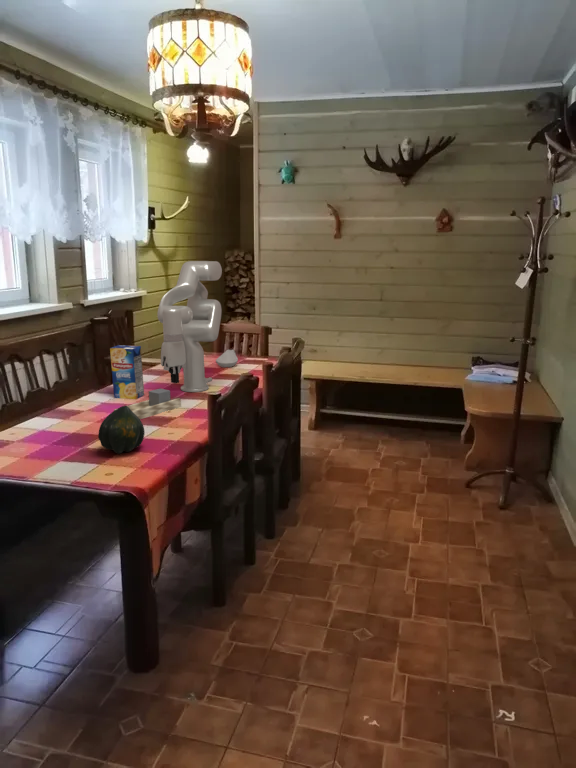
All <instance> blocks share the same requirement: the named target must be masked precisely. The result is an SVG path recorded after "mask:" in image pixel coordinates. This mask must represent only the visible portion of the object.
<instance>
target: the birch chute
mask: <svg viewBox="0 0 576 768" xmlns="http://www.w3.org/2000/svg"><path fill="white" fill-rule="evenodd" d="M126 406H127V407H129V408H130V410H131V411H132V412H133V413H134V414H135V415H136V416H137V417H138V418H139V419H140V420H143V419H145V418H150V417H152V416H155V415H159V414H162V412H163V413H165V411H166V412H169V411H172V410H175V408H176V409H179V408H181V407H182V400H181V398H180V397H178V398H175V399H171V400H170V401H167V402H164V403H160V404H157V405H153V406H150V405H149V399H147V400H144V401H139V402H135V403H133V404H130V405H126ZM178 407H179V408H178ZM116 409H117V408H115V409H113V411H115V410H116ZM171 409H172V410H171ZM168 410H169V411H168Z"/></svg>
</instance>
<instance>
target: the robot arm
mask: <svg viewBox="0 0 576 768" xmlns="http://www.w3.org/2000/svg"><path fill="white" fill-rule="evenodd" d="M222 271H223V269H222V266H221V263H220V262H219V261H217V260H215V261H212V260H211V261H209V260H190V261H185V262H183V264H182V266H181V269H180V272H179V276H178V278H177V282H176V285H175V286H174V287H173V288H171V289H170V290H168V291H167V292H166V293H165V294H164V295H162V297H161V300H160V301H159V305H158V309H157V314H156V316H157V319H158V322H160V323H161V324H162V330H163V331H162V333H163V342H162V344H161V348H160V350H161V351H160V364H161V366H162V367H163V371H168V373H169V374H170V382H171V384H179V383H180V372H181V369H183V370H182V371H183V374H182V375H183V385H181V386H180V390H181V391H183V392H187V393H198V392H199V393H200V392H205V391H207V390H209V388H210V387H209V386H210V385H208V383H210V382H213V378H212V377H210V376H209V377H205V376H206V374H205V372H206V371H205V352H204V349H203V346H202V345H201V344H200V343H201V342H209V343H210V342H214V341H215V342H216V341H217V339H218V337H219V332H220V325H221V319H222V304H221V302H220V301H219V300H217V299H213V298H212V299H211V298H210V299H209V298H208V297H209V296H208V295H209V292H208V289H207V288H206V287H205V285H204V284H203V283H202V282H201V281H203V282H204V281H205V282H206V281H209V282H210V281H219V279H220V278H221V277H222V274H223V272H222ZM186 299H187V303H186V305H175V304H177V303H179V302H182V301H184V300H186Z"/></svg>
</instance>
